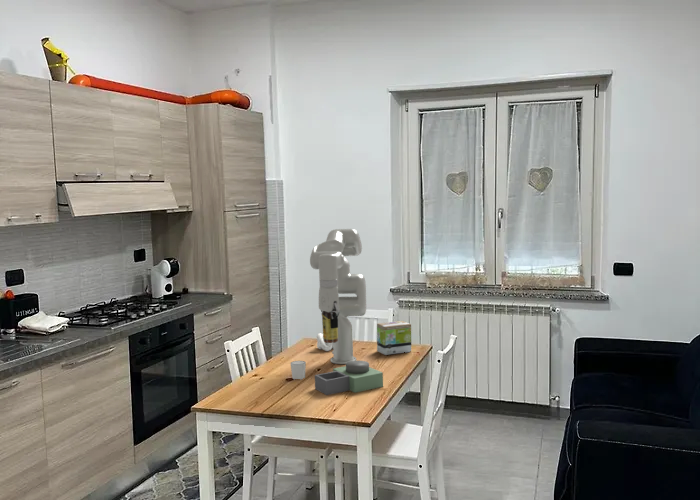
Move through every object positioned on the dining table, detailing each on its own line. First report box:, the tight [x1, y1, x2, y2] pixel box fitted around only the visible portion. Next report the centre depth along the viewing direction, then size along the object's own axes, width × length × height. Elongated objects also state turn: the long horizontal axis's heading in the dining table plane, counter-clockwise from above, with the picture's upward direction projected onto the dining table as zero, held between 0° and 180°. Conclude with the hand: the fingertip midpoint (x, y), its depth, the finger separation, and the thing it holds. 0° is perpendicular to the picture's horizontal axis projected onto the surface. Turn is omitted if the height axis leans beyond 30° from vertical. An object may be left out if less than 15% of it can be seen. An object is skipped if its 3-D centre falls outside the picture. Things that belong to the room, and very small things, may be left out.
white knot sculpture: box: [316, 332, 333, 352], centre depth 337 cm, size 11×12×9 cm
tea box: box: [376, 320, 412, 356], centre depth 328 cm, size 15×10×15 cm, turn 114°
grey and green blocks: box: [314, 360, 384, 396], centre depth 273 cm, size 18×25×9 cm
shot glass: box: [289, 360, 307, 380], centre depth 288 cm, size 7×7×7 cm
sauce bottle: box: [321, 310, 338, 343], centre depth 267 cm, size 7×6×20 cm
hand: (330, 326), depth 267 cm, fingers closed on sauce bottle, 6 cm apart
